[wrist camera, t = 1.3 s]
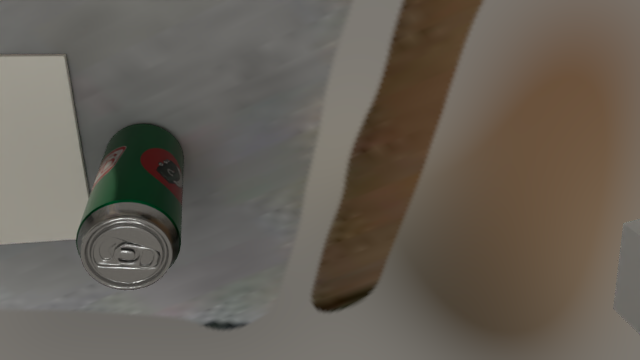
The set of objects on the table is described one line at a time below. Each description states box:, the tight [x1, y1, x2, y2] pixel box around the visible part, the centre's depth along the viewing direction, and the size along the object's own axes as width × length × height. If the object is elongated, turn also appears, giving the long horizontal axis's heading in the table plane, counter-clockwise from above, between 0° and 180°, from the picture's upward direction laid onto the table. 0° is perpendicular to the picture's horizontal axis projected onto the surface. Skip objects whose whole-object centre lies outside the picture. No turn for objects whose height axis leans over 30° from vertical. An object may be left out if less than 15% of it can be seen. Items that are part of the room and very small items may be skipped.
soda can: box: [76, 124, 184, 290], centre depth 32 cm, size 5×5×12 cm
